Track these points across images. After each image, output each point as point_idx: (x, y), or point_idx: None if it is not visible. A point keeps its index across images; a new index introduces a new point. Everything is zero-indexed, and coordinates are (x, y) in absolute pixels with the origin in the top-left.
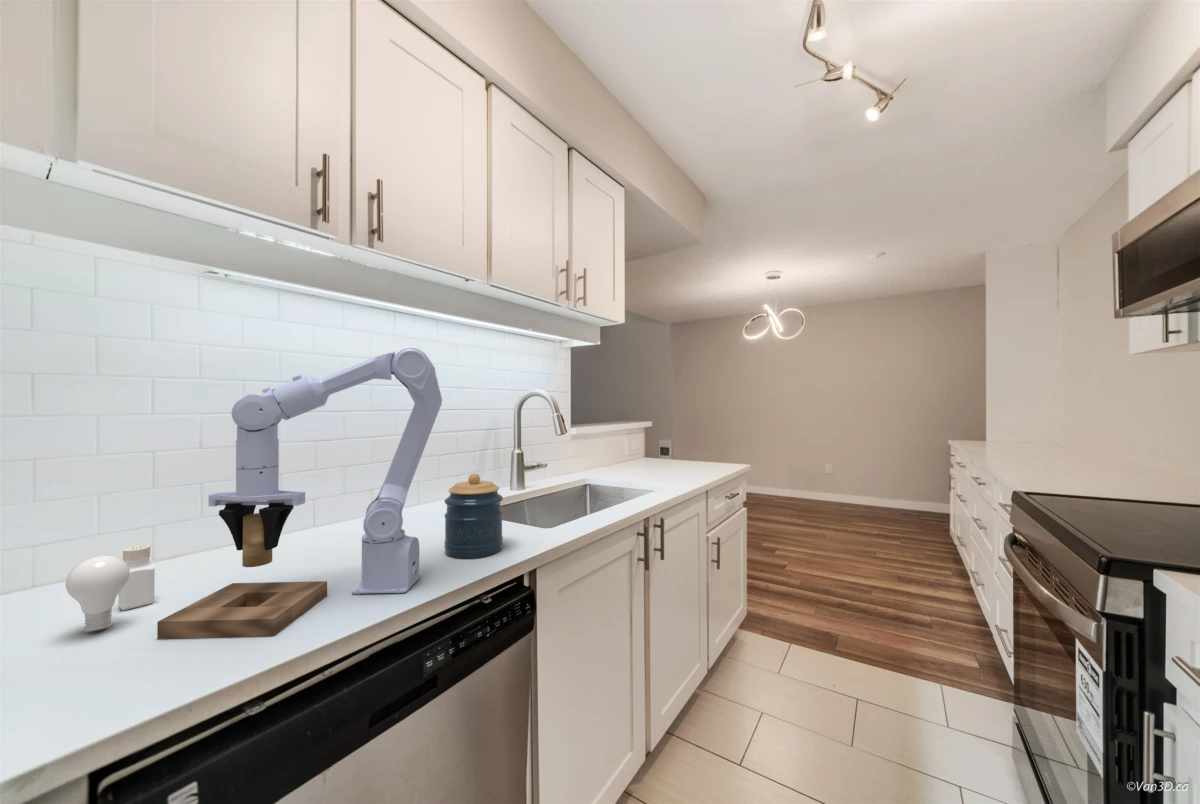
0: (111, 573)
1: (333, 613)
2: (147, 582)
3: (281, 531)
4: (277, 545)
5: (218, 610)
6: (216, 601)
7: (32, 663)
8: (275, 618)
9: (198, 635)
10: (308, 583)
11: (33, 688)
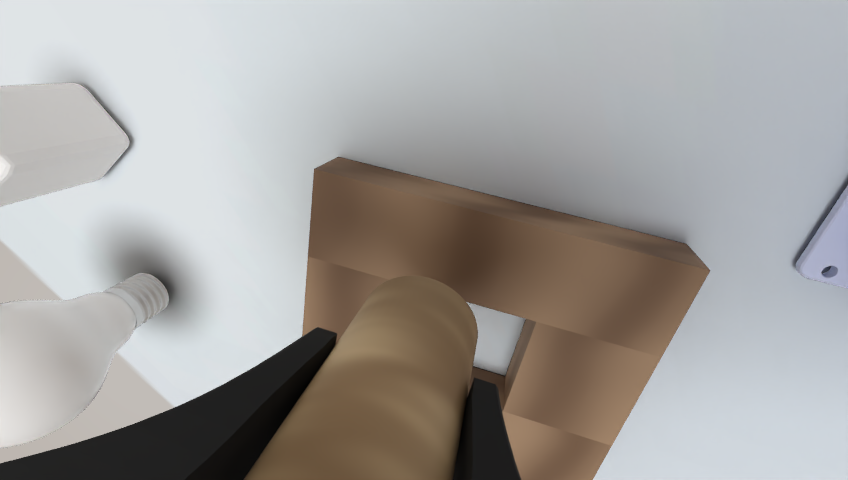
0: (55, 422)
1: (722, 395)
2: (57, 167)
3: (514, 460)
4: (498, 393)
5: None
6: None
7: (174, 386)
8: None
9: None
10: (627, 269)
11: None
